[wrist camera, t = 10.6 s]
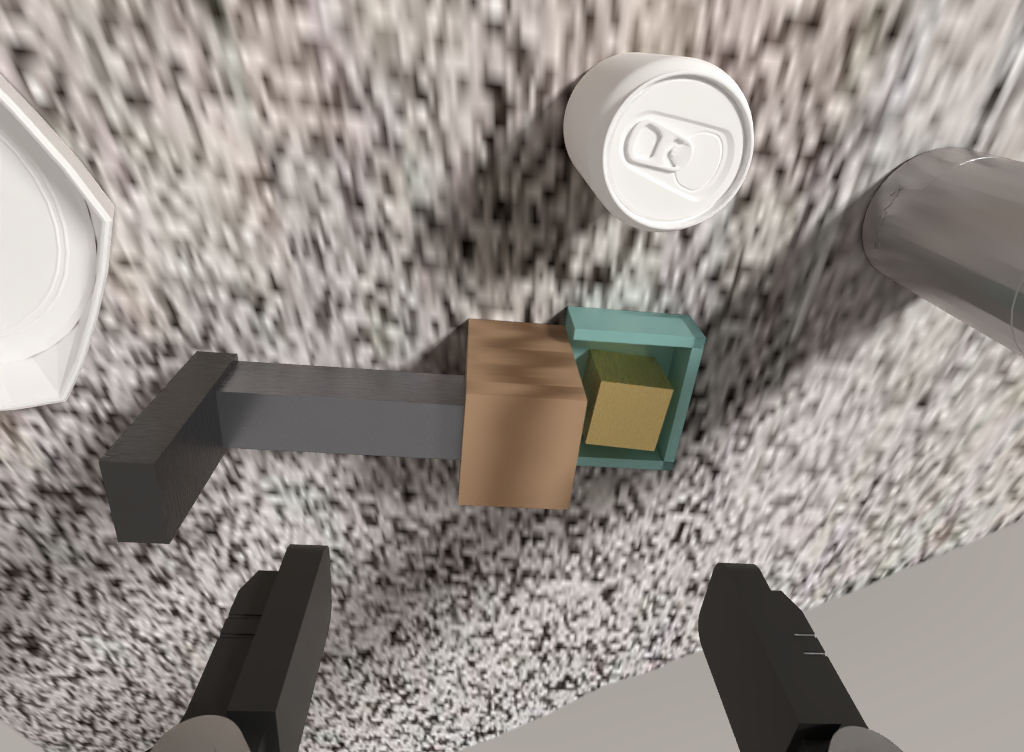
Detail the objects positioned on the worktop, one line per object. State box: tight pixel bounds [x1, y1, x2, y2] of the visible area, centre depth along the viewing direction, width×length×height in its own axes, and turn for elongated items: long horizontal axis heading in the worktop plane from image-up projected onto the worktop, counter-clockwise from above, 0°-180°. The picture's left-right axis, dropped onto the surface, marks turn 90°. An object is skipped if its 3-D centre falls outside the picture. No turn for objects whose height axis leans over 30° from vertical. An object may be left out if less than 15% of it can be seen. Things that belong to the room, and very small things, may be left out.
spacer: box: [582, 349, 673, 451], centre depth 46 cm, size 5×5×5 cm
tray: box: [565, 306, 706, 471], centre depth 47 cm, size 9×11×4 cm
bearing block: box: [458, 319, 587, 510], centre depth 43 cm, size 7×8×11 cm
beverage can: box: [563, 52, 754, 232], centre depth 35 cm, size 8×8×12 cm
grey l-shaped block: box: [99, 351, 466, 544], centre depth 38 cm, size 21×5×12 cm, turn 84°
